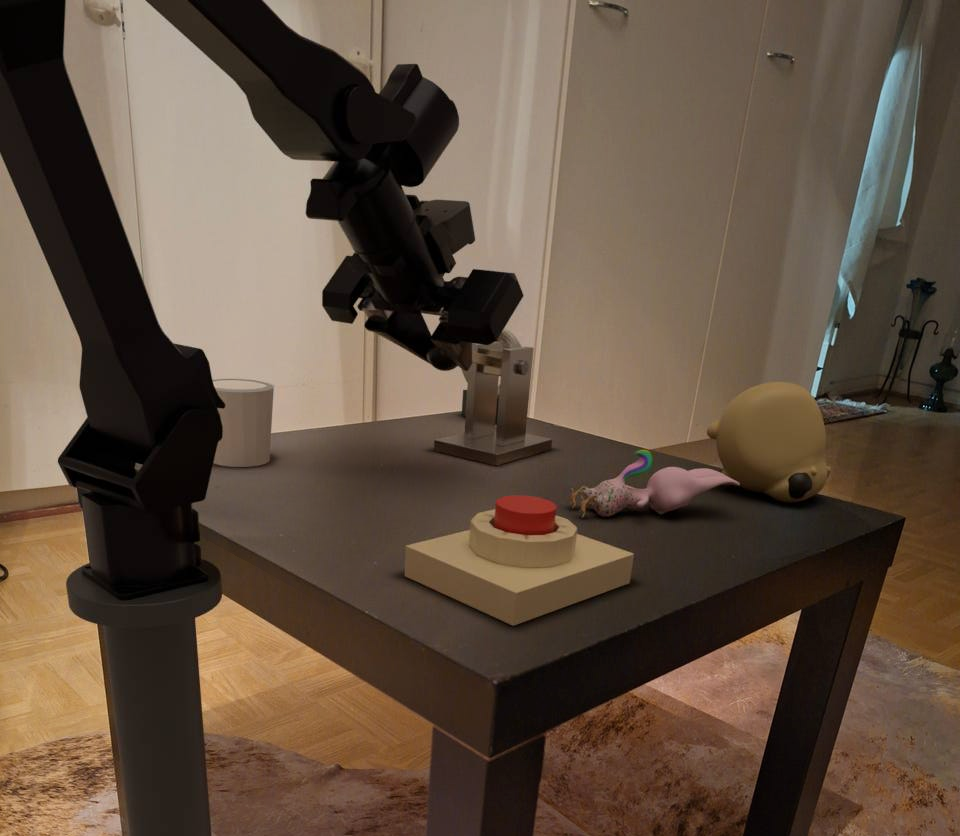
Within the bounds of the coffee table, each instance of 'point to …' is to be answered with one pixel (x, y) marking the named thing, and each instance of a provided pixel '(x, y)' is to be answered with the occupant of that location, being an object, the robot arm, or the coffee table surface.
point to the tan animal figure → (773, 442)
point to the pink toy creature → (650, 488)
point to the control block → (517, 568)
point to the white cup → (244, 422)
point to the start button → (525, 515)
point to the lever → (490, 360)
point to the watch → (506, 342)
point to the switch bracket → (512, 412)
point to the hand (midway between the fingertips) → (452, 364)
